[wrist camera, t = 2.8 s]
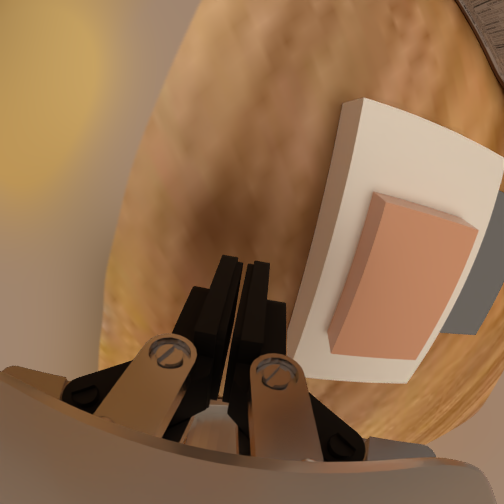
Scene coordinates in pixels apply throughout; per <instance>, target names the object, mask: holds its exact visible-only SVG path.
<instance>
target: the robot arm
mask: <svg viewBox="0 0 504 504" xmlns="http://www.w3.org/2000/svg"><path fill="white" fill-rule="evenodd" d="M242 268H243V262H238V257H232V256H227V255H222V258H221V260H220V263H219V265H218V268H217V271H216V273H215V276H214V278H213V281H212V284H211V286H210V289H206V288H201V287H196V286H194V287H193V288H192V290H191V292H190V294H189V297H188V299H187V301H186V303H185V305H184V308H183V310H182V312H181V314H180V316H179V319H178V321H177V323H176V325H175V328H174V330H173V332H172V334H161V335H157V336H155V337H153V338H151V339H150V340H149V341H148V342H147V343H146V344H145V345H144V346H143V348H142V349H141V350H140V352H139V353H138V354H137V356H136V357H135V358H134V360H132V361H129V362H126V363H123V364H120V365H117V366H114V367H110V368H107V369H104V370H101V371H98V372H95V373H92V374H88V375H85V376H82V377H79V378H76V379H74V380H72V381H67V379H66V377H63V376H58V375H53V374H49V373H44V372H40V371H36V370H32V369H28V368H24V367H20V366H10V367H7V368H5V369H4V370H3V371H2V372H1V371H0V504H497V503H496V500H495V496H494V493H493V490H492V487H491V485H490V483H489V481H488V479H487V477H486V476H485V474H484V473H483V472H482V471H481V470H480V469H479V468H477V467H475V466H473V465H471V464H469V463H466V462H462V461H458V460H453V459H447V458H436V455H435V454H434V452H433V451H432V450H431V449H430V448H429V447H428V446H425V445H422V444H415V443H407V442H400V441H393V440H387V439H381V438H376V437H369V438H368V439H364V438H362V437H361V436H360V435H359V434H358V433H357V432H356V431H355V430H354V429H352V428H351V427H350V426H349V425H347V424H346V423H345V422H344V421H342V420H341V419H340V418H339V417H338V416H336V415H335V414H334V413H333V412H332V411H330V410H329V409H328V408H327V407H326V406H324V405H323V404H322V403H321V402H320V401H318V400H317V399H316V398H315V397H314V396H313V395H311V394H310V393H309V392H308V388H307V383H306V379H305V375H304V372H303V370H302V367H301V366H300V365H299V364H298V363H297V362H296V361H295V360H293V359H292V358H290V357H288V356H286V303H284V302H278V301H272V300H267V294H268V282H269V269H270V263H265V262H260V261H255V262H254V264H248V266H247V271H246V275H245V280H244V285H243V289H242V294H241V299H240V304H239V308H238V313H237V318H236V322H235V327H234V332H233V337H232V343H231V349H230V355H229V361H228V368H227V374H226V380H225V387H224V393H223V399H217V398H218V393H219V389H220V384H221V380H222V375H223V370H224V366H225V361H226V357H227V352H228V347H229V343H230V338H231V334H232V329H233V324H234V318H235V311H236V305H237V299H238V292H239V286H240V280H241V274H242ZM186 437H187V438H186ZM185 438H186V442H185V444H183V442H184V440H185Z"/></svg>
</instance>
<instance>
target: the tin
mask: <svg viewBox="0 0 504 504" xmlns="http://www.w3.org/2000/svg"><path fill="white" fill-rule="evenodd" d="M456 2H457V3H458V5H459V7H460V8H461V10H462V12H463V13H464V15H465V17H466V18H467V20H468V22H469V24H470V25H471V27H472V29H473V31H474V33H475V35H476V36H477V38H478V40H479V42H480V44H481V46H482V48H483V50H484V52H485V55H486V57H487V59H488V61H489V63H490V66H491V68H492V70H493V72H494V73H495V75H496V77H497V79H498V80H499V82H500V83H501V85H502V86H503V88H504V0H456Z"/></svg>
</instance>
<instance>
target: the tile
mask: <svg viewBox="0 0 504 504" xmlns="http://www.w3.org/2000/svg"><path fill="white" fill-rule="evenodd" d="M478 231H479V230H478V229H476V228H475V227H474V226H472V225H471V224H469V223H468V222H466V221H465V220H464V219H462V218H460V217H457V216H455V215H452V214H449V213H445V212H442V211H439V210H436V209H433V208H430V207H427V206H423V205H420V204H417V203H413V202H410V201H406V200H403V199H399V198H396V197H392V196H389V195H385V194H381V193H377V192H374V191H373V194H372V198H371V201H370V205H369V209H368V212H367V216H366V219H365V223H364V226H363V229H362V233H361V236H360V239H359V243H358V246H357V249H356V252H355V255H354V258H353V261H352V264H351V267H350V270H349V273H348V276H347V279H346V282H345V285H344V288H343V291H342V293H341V296H340V299H339V302H338V304H337V307H336V310H335V312H334V315H333V318H332V320H331V323H330V325H329V328H328V330H327V334H328V340H329V346H330V352H331V354H339V355H349V356H360V357H372V358H386V359H403V360H416V359H417V357H418V355H419V354H420V352H421V350H422V349H423V347H424V346H425V344H426V342H427V340H428V339H429V337H430V335H431V334H432V332H433V330H434V328H435V326H436V325H437V323H438V321H439V319H440V317H441V315H442V313H443V312H444V310H445V308H446V306H447V304H448V302H449V300H450V298H451V296H452V294H453V292H454V289H455V287H456V285H457V283H458V281H459V279H460V276H461V274H462V272H463V270H464V267H465V265H466V262H467V260H468V258H469V255H470V253H471V250H472V248H473V245H474V242H475V240H476V237H477V234H478Z"/></svg>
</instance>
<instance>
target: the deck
mask: <svg viewBox="0 0 504 504" xmlns="http://www.w3.org/2000/svg"><path fill="white" fill-rule="evenodd" d="M503 171H504V158H503V157H502V156H500V155H498V154H497V153H495V152H493V151H491V150H489V149H488V148H486V147H484V146H482V145H480V144H478V143H476V142H474V141H472V140H470V139H468V138H466V137H464V136H462V135H460V134H458V133H456V132H454V131H452V130H449V129H447V128H445V127H443V126H440V125H438V124H436V123H433V122H431V121H429V120H426V119H424V118H421V117H419V116H416V115H414V114H411V113H408V112H406V111H403V110H400V109H397V108H394V107H392V106H389V105H386V104H383V103H380V102H377V101H373V100H370V99H367V98H360V99H357V100H353V101H349V102H345V103H343V104H342V109H341V115H340V120H339V125H338V130H337V135H336V140H335V145H334V150H333V155H332V159H331V164H330V169H329V173H328V178H327V182H326V187H325V191H324V195H323V200H322V204H321V208H320V212H319V216H318V220H317V225H316V229H315V233H314V236H313V240H312V244H311V248H310V252H309V256H308V260H307V263H306V267H305V271H304V274H303V278H302V282H301V285H300V289H299V292H298V296H297V299H296V303H295V306H294V310H293V313H292V317H291V320H290V323H289V327H288V330H287V356H288V357H290V358H292V359H293V360H295V361H296V362H297V363H298V364H299V365H300V366H301V367H302V370H303V372H304V375H305V377H307V378H316V379H327V380H339V381H353V382H372V383H407V382H408V381H409V379H410V378H411V376H412V375H413V373H414V372H415V370H416V369H417V367H418V366H419V364H420V363H421V361H422V360H423V358H424V357H425V355H426V354H427V352H428V350H429V349H430V347H431V345H432V344H433V342H434V340H435V339H436V337H437V335H438V334H439V332H440V330H441V328H442V327H443V325H444V323H445V321H446V319H447V318H448V316H449V314H450V312H451V310H452V308H453V306H454V304H455V302H456V300H457V298H458V296H459V294H460V292H461V290H462V288H463V286H464V284H465V281H466V279H467V277H468V275H469V273H470V270H471V268H472V266H473V263H474V261H475V258H476V256H477V253H478V251H479V248H480V246H481V243H482V241H483V238H484V235H485V232H486V230H487V227H488V224H489V221H490V218H491V215H492V211H493V208H494V205H495V202H496V198H497V195H498V191H499V187H500V184H501V180H502V176H503ZM373 191H374V192H377V193H381V194H385V195H389V196H392V197H396V198H399V199H403V200H406V201H410V202H413V203H417V204H420V205H423V206H427V207H430V208H433V209H436V210H439V211H442V212H445V213H449V214H452V215H455V216H457V217H460V218H462V219H464V220H465V221H466V222H468V223H469V224H471V225H472V226H474V227H475V228H476V229H478V230H479V231H478V234H477V237H476V240H475V242H474V245H473V248H472V250H471V253H470V255H469V258H468V260H467V262H466V265H465V267H464V270H463V272H462V274H461V276H460V279H459V281H458V283H457V285H456V287H455V289H454V292H453V294H452V296H451V298H450V300H449V302H448V304H447V306H446V308H445V310H444V312H443V313H442V315H441V317H440V319H439V321H438V323H437V325H436V326H435V328H434V330H433V332H432V334H431V335H430V337H429V339H428V340H427V342H426V344H425V346H424V347H423V349H422V350H421V352H420V354H419V355H418V357H417V359H416V360H403V359H386V358H372V357H360V356H349V355H339V354H331V352H330V346H329V340H328V334H327V330H328V328H329V325H330V323H331V320H332V318H333V315H334V312H335V310H336V307H337V304H338V302H339V299H340V296H341V293H342V291H343V288H344V285H345V282H346V279H347V276H348V273H349V270H350V267H351V264H352V261H353V258H354V255H355V252H356V249H357V246H358V243H359V239H360V236H361V233H362V229H363V226H364V223H365V219H366V216H367V212H368V209H369V205H370V201H371V198H372V194H373Z"/></svg>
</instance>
